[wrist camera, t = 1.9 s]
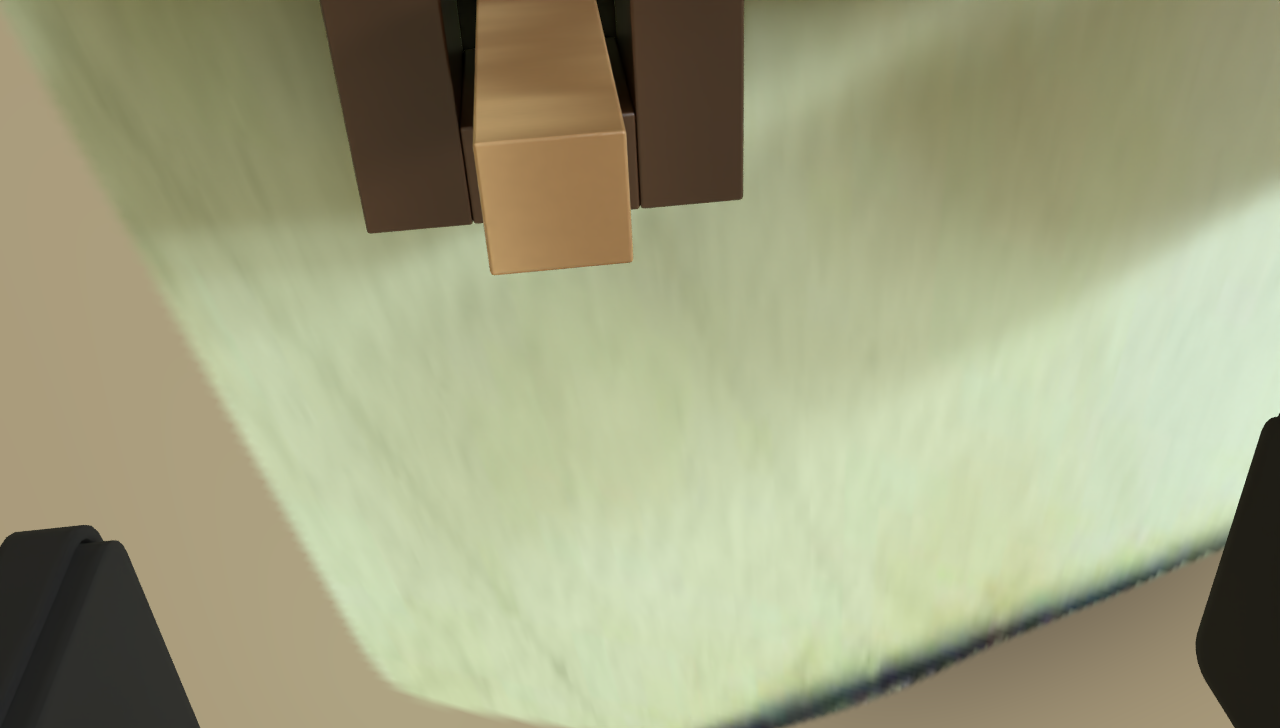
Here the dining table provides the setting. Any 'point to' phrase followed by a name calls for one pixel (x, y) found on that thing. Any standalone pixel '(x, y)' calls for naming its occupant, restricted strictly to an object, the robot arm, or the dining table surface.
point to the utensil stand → (444, 105)
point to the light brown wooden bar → (548, 138)
